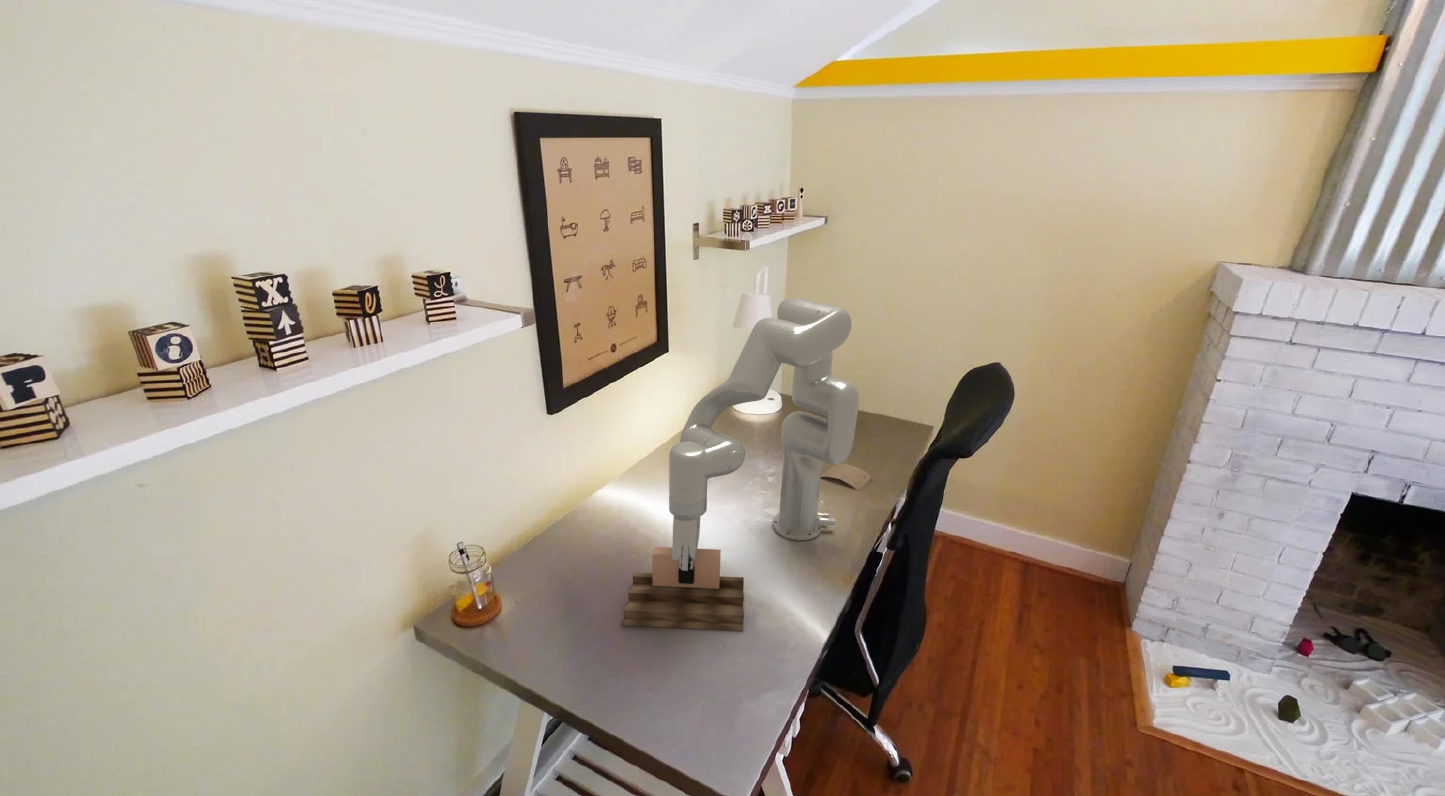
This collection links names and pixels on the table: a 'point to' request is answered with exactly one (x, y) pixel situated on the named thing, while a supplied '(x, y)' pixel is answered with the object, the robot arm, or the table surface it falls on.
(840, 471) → the tan curved panel
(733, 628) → the wooden stepped riser
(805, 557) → the table surface
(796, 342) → the robot arm
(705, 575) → the clay strip
